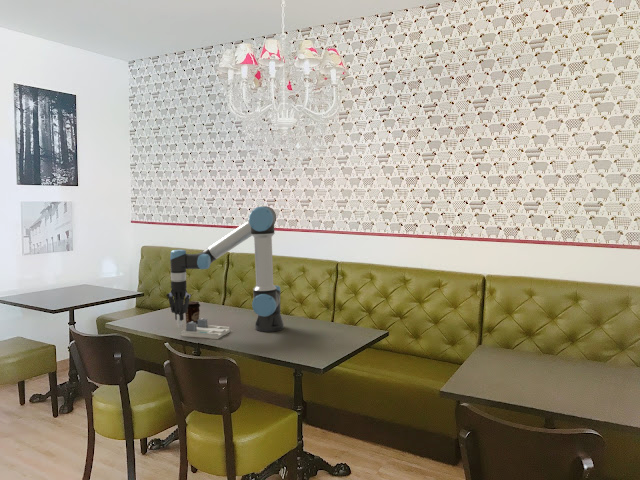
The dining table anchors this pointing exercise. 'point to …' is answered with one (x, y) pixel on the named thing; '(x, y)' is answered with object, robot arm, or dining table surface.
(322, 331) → the dining table surface
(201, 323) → the tab
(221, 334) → the switch bank
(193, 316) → the coffee cup
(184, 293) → the robot arm
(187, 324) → the tab
